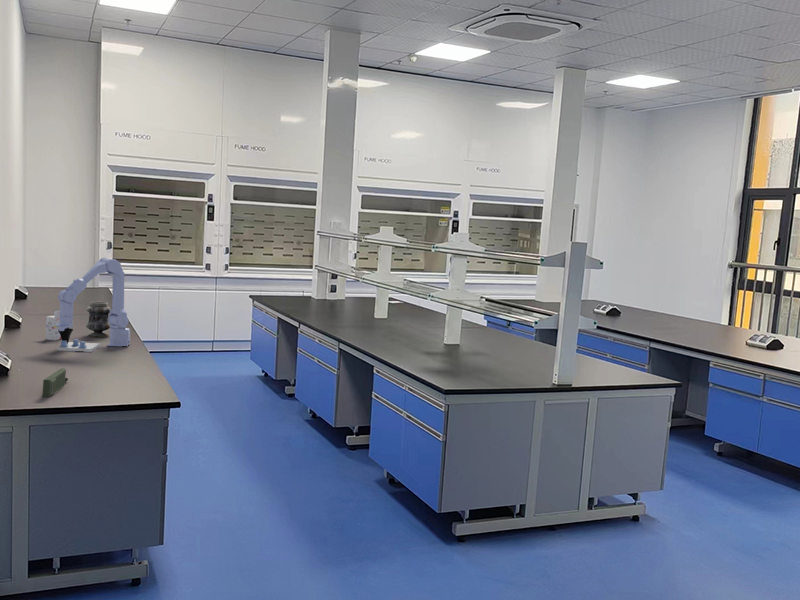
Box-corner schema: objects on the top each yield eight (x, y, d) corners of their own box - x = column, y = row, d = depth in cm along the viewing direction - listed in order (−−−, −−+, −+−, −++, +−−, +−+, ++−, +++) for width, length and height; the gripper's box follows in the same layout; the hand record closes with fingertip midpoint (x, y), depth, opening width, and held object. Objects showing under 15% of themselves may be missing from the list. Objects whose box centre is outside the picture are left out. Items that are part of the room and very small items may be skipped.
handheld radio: (40, 397, 254) (61, 382, 279) (50, 398, 255) (70, 383, 280) (41, 379, 254) (62, 365, 278) (51, 379, 254) (71, 366, 279)
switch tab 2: (80, 345, 347) (80, 339, 347) (78, 346, 345) (78, 340, 344) (73, 344, 347) (73, 339, 347) (71, 345, 344) (71, 339, 344)
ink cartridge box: (56, 337, 372) (57, 308, 371) (64, 338, 371) (65, 309, 370) (45, 339, 364) (45, 310, 363) (53, 340, 363) (54, 311, 362)
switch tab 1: (68, 346, 342) (68, 340, 342) (66, 347, 340) (66, 341, 339) (61, 345, 342) (61, 340, 342) (59, 346, 339) (59, 340, 339)
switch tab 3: (86, 347, 343) (87, 341, 343) (85, 348, 341) (85, 342, 340) (79, 347, 343) (80, 341, 342) (78, 348, 340) (78, 342, 340)
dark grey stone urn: (109, 334, 394) (110, 301, 393) (110, 337, 384) (112, 304, 382) (85, 333, 389) (86, 300, 387) (86, 337, 378) (87, 303, 377)
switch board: (99, 346, 356) (99, 343, 356) (91, 352, 341) (91, 348, 340) (67, 345, 354) (67, 341, 354) (57, 350, 338) (57, 347, 338)
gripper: (61, 313, 348) (60, 341, 349) (52, 317, 334) (51, 346, 335) (77, 314, 349) (76, 341, 351) (68, 317, 335) (67, 346, 336)
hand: (65, 344), depth 343 cm, fingers closed
